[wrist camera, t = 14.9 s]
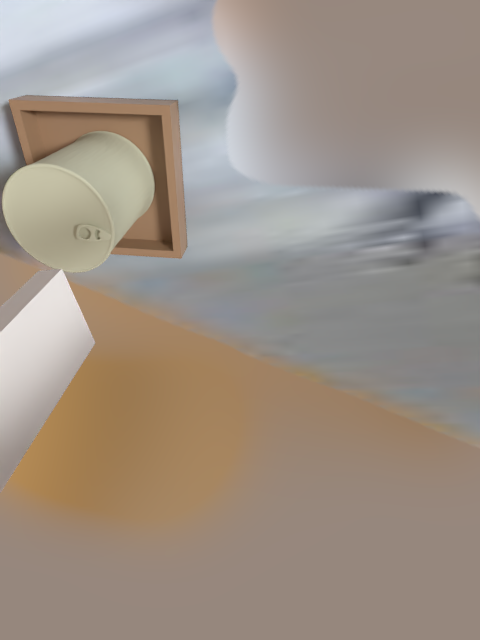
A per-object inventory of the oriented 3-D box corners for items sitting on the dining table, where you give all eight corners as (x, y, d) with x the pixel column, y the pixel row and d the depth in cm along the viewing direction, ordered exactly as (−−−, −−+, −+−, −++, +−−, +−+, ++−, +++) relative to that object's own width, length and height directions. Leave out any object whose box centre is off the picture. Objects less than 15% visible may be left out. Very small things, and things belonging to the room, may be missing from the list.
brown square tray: (26, 95, 39) (8, 99, 36) (177, 100, 38) (169, 105, 35) (62, 238, 47) (50, 250, 45) (187, 246, 46) (181, 258, 44)
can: (150, 231, 45) (110, 288, 35) (67, 209, 45) (3, 260, 35) (159, 144, 40) (115, 183, 30) (65, 119, 39) (-11, 150, 29)
